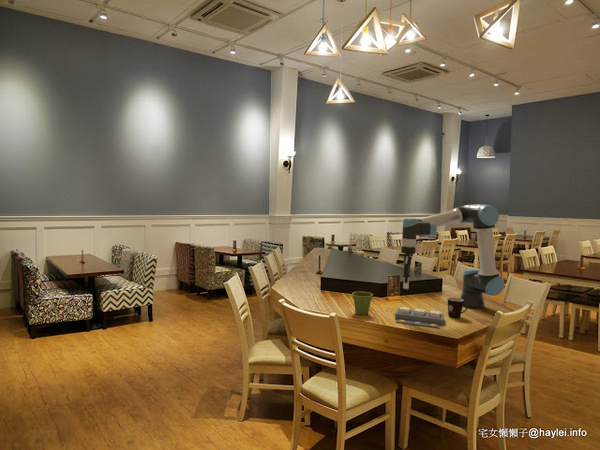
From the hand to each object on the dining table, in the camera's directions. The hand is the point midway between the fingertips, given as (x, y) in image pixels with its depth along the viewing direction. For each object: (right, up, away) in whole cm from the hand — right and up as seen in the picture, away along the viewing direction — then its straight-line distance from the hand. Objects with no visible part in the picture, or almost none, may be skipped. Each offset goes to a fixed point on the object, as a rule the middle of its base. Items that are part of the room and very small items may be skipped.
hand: (405, 288), depth 239 cm
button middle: (+7, -14, -2) cm, 16 cm away
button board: (+7, -17, -1) cm, 18 cm away
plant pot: (-24, -15, +6) cm, 29 cm away
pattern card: (+4, -17, -10) cm, 21 cm away
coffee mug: (+29, -17, +4) cm, 34 cm away
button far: (0, -14, +1) cm, 14 cm away
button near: (+15, -15, -4) cm, 21 cm away
